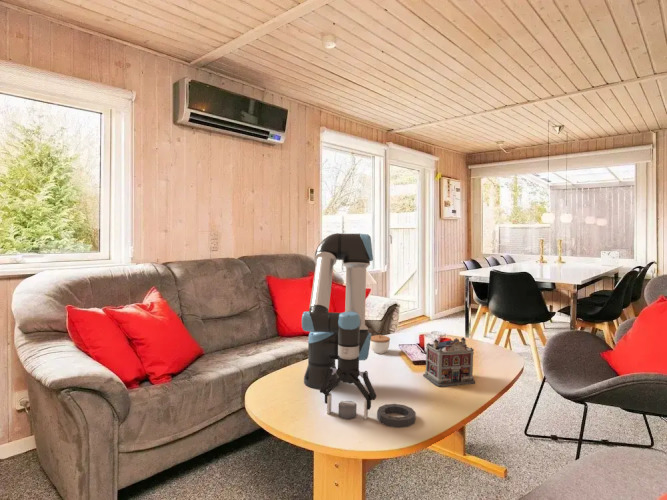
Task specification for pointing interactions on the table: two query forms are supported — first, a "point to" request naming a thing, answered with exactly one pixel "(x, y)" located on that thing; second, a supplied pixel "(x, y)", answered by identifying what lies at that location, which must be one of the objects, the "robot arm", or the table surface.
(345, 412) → the cap
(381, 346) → the lidded jar
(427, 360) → the model building
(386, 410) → the faceted gray torus
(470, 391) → the table surface
